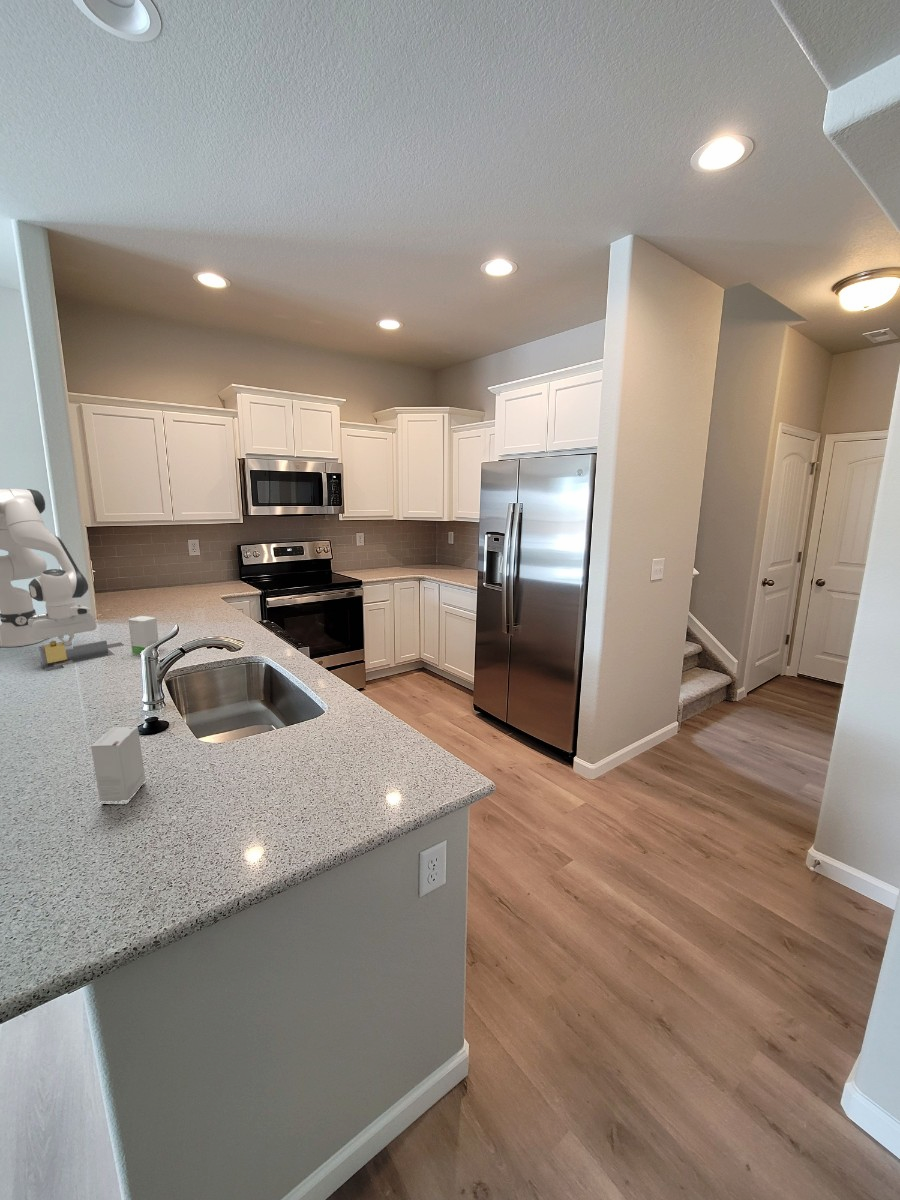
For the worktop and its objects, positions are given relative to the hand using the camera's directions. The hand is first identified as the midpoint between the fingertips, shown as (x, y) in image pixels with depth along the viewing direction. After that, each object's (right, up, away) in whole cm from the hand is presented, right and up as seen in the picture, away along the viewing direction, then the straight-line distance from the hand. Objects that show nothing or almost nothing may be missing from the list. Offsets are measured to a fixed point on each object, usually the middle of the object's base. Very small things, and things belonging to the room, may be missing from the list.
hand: (67, 645), depth 192 cm
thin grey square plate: (+5, -3, +20) cm, 20 cm away
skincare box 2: (+24, -5, +11) cm, 27 cm away
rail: (+2, -6, +4) cm, 7 cm away
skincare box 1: (+77, -26, -82) cm, 115 cm away
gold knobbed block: (-3, -5, -2) cm, 6 cm away
